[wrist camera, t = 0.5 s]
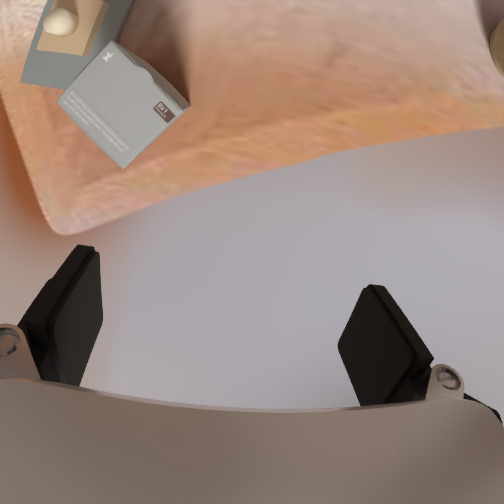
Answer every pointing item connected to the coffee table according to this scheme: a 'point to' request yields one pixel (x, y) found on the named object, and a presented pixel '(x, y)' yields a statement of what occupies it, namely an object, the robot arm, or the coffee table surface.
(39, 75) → the post board
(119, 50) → the skincare box
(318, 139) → the coffee table surface
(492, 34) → the planter bowl
